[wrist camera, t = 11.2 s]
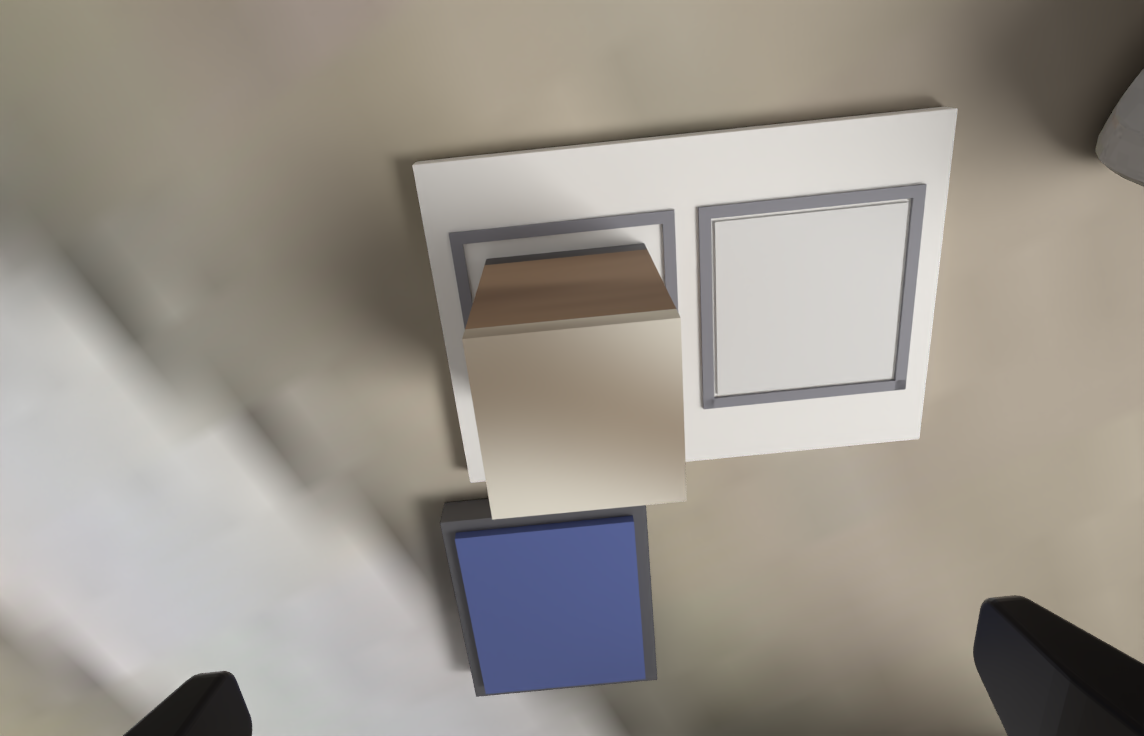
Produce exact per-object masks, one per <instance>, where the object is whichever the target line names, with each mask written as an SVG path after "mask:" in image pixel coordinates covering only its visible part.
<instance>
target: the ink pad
mask: <svg viewBox="0 0 1144 736" xmlns="http://www.w3.org/2000/svg"><path fill="white" fill-rule="evenodd" d="M440 525H441V530H442V534H443V539H444V544H445V549H446V554H447V558H448V563H449V568H450V573H451V578H452V582H453V587H454V592H455V597H456V601H457V606H458V611H459V616H460V621H461V625H462V630H463V635H464V640H465V645H466V649H467V654H468V659H469V664H470V669H471V673H472V678H473V683H474V688H475V693H476V697H478V696H488V695H499V694H509V693H520V692H531V691H541V690H552V689H563V688H573V687H584V686H594V685H605V684H616V683H626V682H637V681H648V680H657V668H656V653H655V637H654V622H653V607H652V592H651V576H650V561H649V546H648V530H647V515H646V505H642V506H631V507H620V508H610V509H599V510H589V511H578V512H567V513H557V514H546V515H536V516H525V517H515V518H504V519H493V520H492V515H491V509H490V503H489V499H480V500H469V501H459V502H449V503H445V504H444V508H443V512H442V517H441V521H440Z"/></svg>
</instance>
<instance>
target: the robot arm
mask: <svg viewBox="0 0 1144 736" xmlns="http://www.w3.org/2000/svg"><path fill="white" fill-rule="evenodd" d="M973 655H974V661H975V665H976V668H977V671H978V673H979V675H980V677H981V679H982V682H983V684H984V686H985V688H986V690H987V692H988V694H989V697H990V699H991V701H992V703H993V705H994V707H995V709H996V711H997V714H998V716H999V718H1000V720H1001V722H1002V724H1003V726H1004V728H1005V731H1006V733H1007V735H1008V736H1144V664H1143V663H1141V662H1139V661H1137V660H1136V659H1134V658H1132V657H1130V656H1129V655H1127V654H1125V653H1123V652H1121V651H1120V650H1118V649H1116V648H1114V647H1113V646H1111V645H1109V644H1107V643H1106V642H1104V641H1102V640H1100V639H1098V638H1097V637H1095V636H1093V635H1091V634H1090V633H1088V632H1086V631H1084V630H1082V629H1081V628H1079V627H1077V626H1075V625H1074V624H1072V623H1070V622H1068V621H1067V620H1065V619H1063V618H1061V617H1059V616H1058V615H1056V614H1054V613H1052V612H1051V611H1049V610H1047V609H1045V608H1043V607H1042V606H1040V605H1038V604H1036V603H1035V602H1033V601H1031V600H1029V599H1027V598H1025V597H1022V596H1016V595H1014V596H1004V597H993V598H988V599H986V600H985V601H984V602H983V603H982V605H981V608H980V613H979V619H978V624H977V630H976V636H975V641H974V647H973ZM123 736H252V721H251V716H250V714H249V711H248V708H247V706H246V703H245V701H244V698H243V696H242V693H241V691H240V688H239V686H238V683H237V681H236V679H235V677H234V675H233V674H231V673H230V672H227V671H220V672H210V673H200V674H197V675H194V676H192V677H191V678H190V679H188V680H187V681H186V682H185V683H183V684H182V685H181V686H180V687H179V688H178V689H176V690H175V691H174V692H173V693H172V694H171V695H169V696H168V697H167V698H166V699H165V700H164V701H163V702H161V703H160V704H159V705H158V706H157V707H156V708H154V709H153V710H152V711H151V712H150V713H149V714H147V715H146V716H145V717H144V718H143V719H142V720H140V721H139V722H138V723H137V724H136V725H135V726H133V727H132V728H131V729H130V730H129V731H128V732H126V733H125V734H124V735H123Z"/></svg>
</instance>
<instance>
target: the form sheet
mask: <svg viewBox="0 0 1144 736" xmlns="http://www.w3.org/2000/svg"><path fill="white" fill-rule="evenodd" d="M957 110H958V108H952V107H935V108H926V109H916V110H907V111H897V112H887V113H878V114H868V115H859V116H849V117H839V118H830V119H820V120H811V121H801V122H791V123H782V124H772V125H763V126H753V127H743V128H734V129H724V130H715V131H705V132H695V133H686V134H676V135H667V136H657V137H647V138H638V139H628V140H619V141H609V142H599V143H590V144H580V145H571V146H561V147H551V148H542V149H532V150H522V151H513V152H503V153H494V154H484V155H474V156H465V157H455V158H446V159H436V160H426V161H417V162H415V163H414V164H413V165H412V166H413V172H414V177H415V182H416V188H417V193H418V199H419V204H420V210H421V215H422V221H423V226H424V232H425V237H426V243H427V248H428V254H429V259H430V265H431V270H432V276H433V281H434V287H435V292H436V297H437V303H438V308H439V314H440V319H441V325H442V330H443V336H444V341H445V347H446V352H447V358H448V363H449V369H450V374H451V380H452V385H453V391H454V396H455V402H456V407H457V413H458V418H459V423H460V429H461V434H462V440H463V445H464V451H465V456H466V462H467V467H468V473H469V478H470V483H474V482H484V481H486V479H485V473H484V467H483V461H482V455H481V449H480V443H479V437H478V431H477V425H476V419H475V413H474V407H473V401H472V396H471V390H470V384H469V378H468V372H467V366H466V360H465V354H464V348H463V342H462V338H463V334H464V331H465V328H466V324H467V321H468V318H469V315H470V311H471V308H472V305H473V301H474V298H475V295H476V291H477V288H478V285H479V282H480V278H481V275H482V272H483V268H484V265H485V262H486V259H489V258H499V257H510V256H520V255H530V254H540V253H550V252H560V251H570V250H580V249H591V248H601V247H611V246H621V245H631V244H641V243H644V244H645V246H646V248H647V250H648V252H649V254H650V256H651V258H652V260H653V262H654V264H655V266H656V268H657V270H658V272H659V274H660V277H661V279H662V281H663V283H664V285H665V287H666V289H667V291H668V293H669V295H670V297H671V299H672V301H673V303H674V305H675V307H676V309H677V311H678V313H679V315H680V317H681V342H682V372H683V402H684V432H685V462H688V461H698V460H708V459H719V458H729V457H739V456H749V455H759V454H770V453H780V452H790V451H800V450H810V449H820V448H831V447H841V446H851V445H861V444H871V443H882V442H892V441H902V440H912V439H919V437H920V428H921V420H922V411H923V402H924V394H925V385H926V377H927V368H928V359H929V351H930V342H931V334H932V325H933V316H934V308H935V299H936V290H937V282H938V273H939V265H940V256H941V247H942V239H943V230H944V222H945V213H946V204H947V196H948V187H949V179H950V170H951V161H952V153H953V144H954V136H955V127H956V118H957Z"/></svg>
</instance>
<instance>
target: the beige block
mask: <svg viewBox="0 0 1144 736" xmlns="http://www.w3.org/2000/svg"><path fill="white" fill-rule="evenodd" d="M462 342H463V348H464V354H465V360H466V366H467V372H468V378H469V384H470V390H471V396H472V401H473V407H474V413H475V419H476V425H477V431H478V437H479V443H480V449H481V455H482V461H483V467H484V473H485V479H486V485H487V491H488V497H489V503H490V509H491V515H492V520H493V519H504V518H515V517H525V516H536V515H546V514H557V513H567V512H578V511H589V510H599V509H610V508H620V507H631V506H642V505H652V504H663V503H673V502H684V501H687V493H686V462H685V432H684V402H683V372H682V342H681V317H680V315H679V313H678V311H677V309H676V307H675V305H674V303H673V301H672V299H671V297H670V295H669V293H668V291H667V289H666V287H665V285H664V283H663V281H662V279H661V277H660V274H659V272H658V270H657V268H656V266H655V264H654V262H653V260H652V258H651V256H650V254H649V252H648V250H647V248H646V246H645V244H644V243H641V244H631V245H621V246H611V247H601V248H591V249H580V250H570V251H560V252H550V253H540V254H530V255H520V256H510V257H499V258H489V259H486V262H485V265H484V268H483V272H482V275H481V278H480V282H479V285H478V288H477V291H476V295H475V298H474V301H473V305H472V308H471V311H470V315H469V318H468V321H467V324H466V328H465V331H464V334H463V338H462Z"/></svg>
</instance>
